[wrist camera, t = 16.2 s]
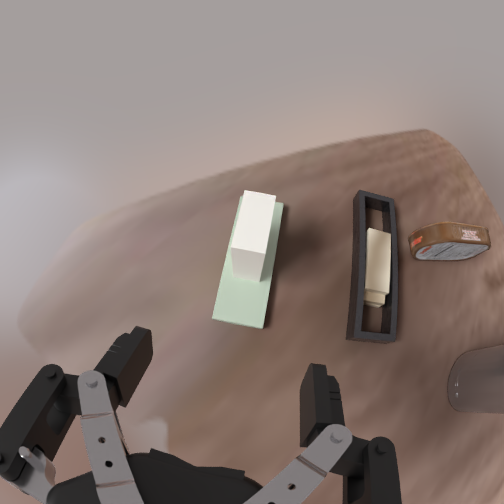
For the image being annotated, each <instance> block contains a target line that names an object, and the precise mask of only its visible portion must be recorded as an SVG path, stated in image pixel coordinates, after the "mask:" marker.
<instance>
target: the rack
mask: <svg viewBox="0 0 504 504" xmlns="http://www.w3.org/2000/svg"><path fill="white" fill-rule="evenodd" d="M365 207H367V208H371V209H375V210H379V211H382V218H383V232H386V233H389V234H391V260H390V284H389V293H388V294H386V295H385V303H384V304H383V310H382V325H381V333H373V332H364V331H361V325H362V314H363V300H364V282H365V248H366V227H365ZM397 304H398V254H397V233H396V219H395V208H394V199H392V198H388V197H385V196H381V195H377V194H374V193H370V192H366V191H362V190H359V191H358V192H357V194H356V196H355V197H354V199H353V254H352V275H351V290H350V303H349V314H348V324H347V333H346V340H353V341H363V342H373V343H384V344H386V343H391V342H395V339H396V325H397Z"/></svg>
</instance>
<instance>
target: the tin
mask: <svg viewBox="0 0 504 504" xmlns="http://www.w3.org/2000/svg"><path fill="white" fill-rule="evenodd" d="M488 232H489V231H488V228H486V227H483V226H477V225H470V224H463V223H457V222H439V223H433V224H430V225H426V226H424V227H421V228H419V229H417V230H416V231H414V232H413V233H411V234H410V236H409V237H408V241H409V244H410V250H411V255H412V257H413V258H415V259H418V260H432V261H460V260H466V259H470V258H473V257H475V256H477V255H478V254H480V253H482V252H484V251H486V250H489V249H490V247H491V242H490V237H489V233H488Z"/></svg>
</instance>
